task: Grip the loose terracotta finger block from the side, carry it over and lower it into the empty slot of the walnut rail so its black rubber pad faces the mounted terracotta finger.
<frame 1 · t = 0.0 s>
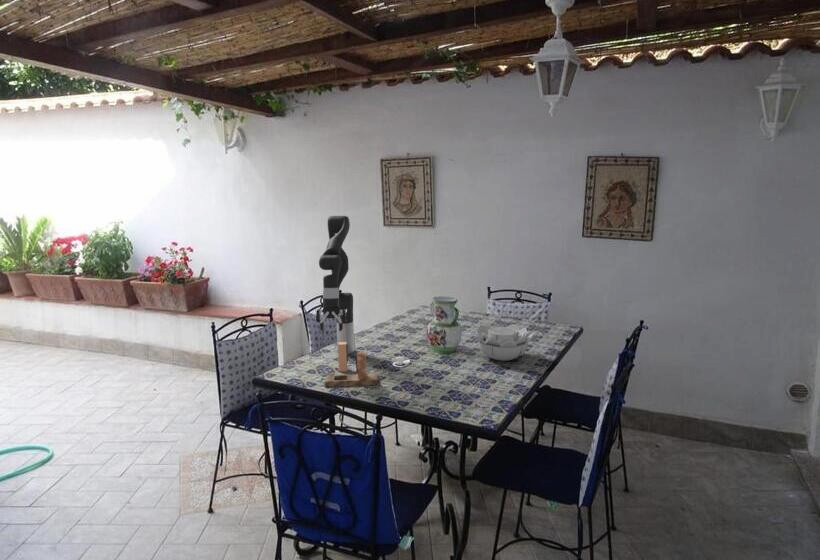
hand: (331, 330, 248), 22 cm above the table, tool pointing down, fingers open, 8 cm apart
loose finger: (343, 370, 259), on the table
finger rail: (351, 382, 243), on the table
teacup and saucer: (404, 366, 265), on the table
decorative bowl: (503, 357, 274), on the table
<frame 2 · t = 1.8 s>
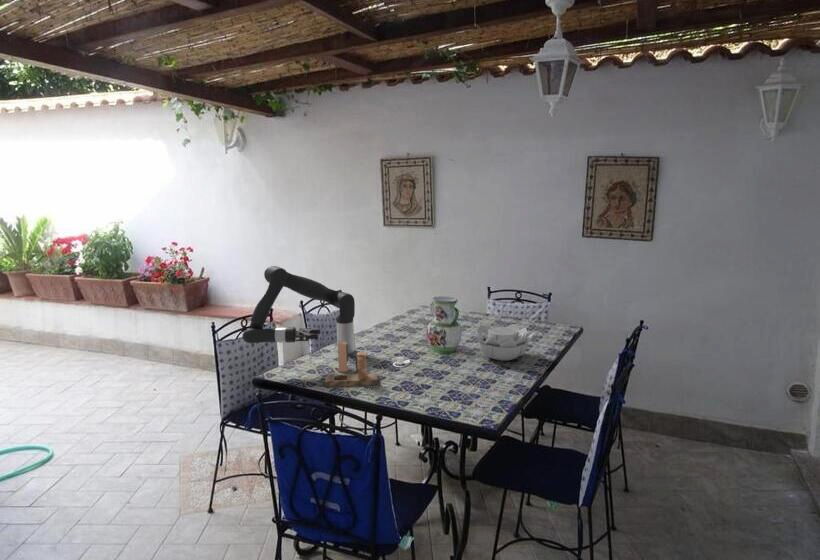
hand: (319, 334, 255), 19 cm above the table, tool horizontal, fingers open, 8 cm apart
nothing on the table moved.
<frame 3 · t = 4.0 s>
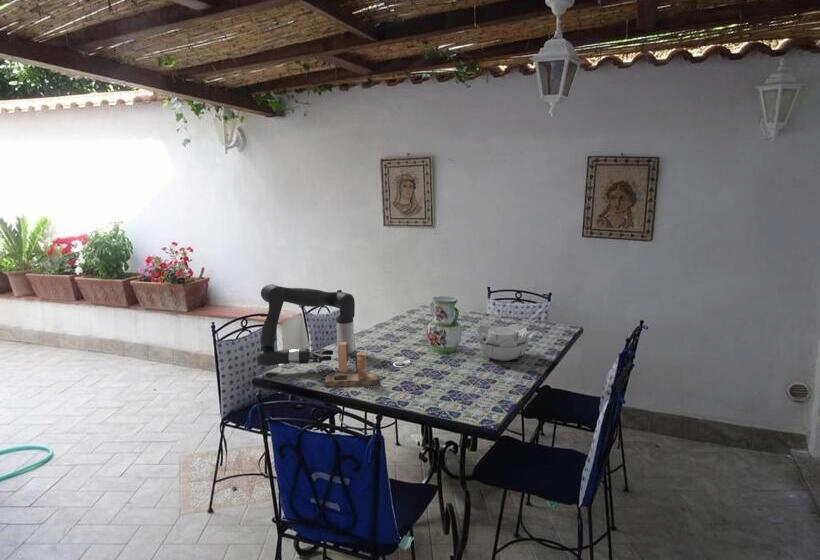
hand: (332, 355, 258), 8 cm above the table, tool horizontal, fingers open, 8 cm apart
nothing on the table moved.
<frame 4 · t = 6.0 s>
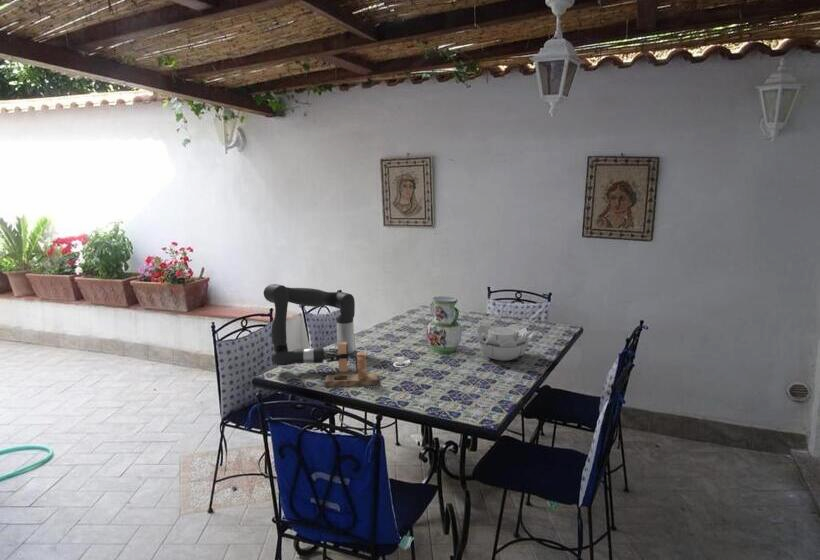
hand: (348, 354, 258), 8 cm above the table, tool horizontal, fingers closed on loose finger, 4 cm apart
loose finger: (343, 370, 259), on the table, touching gripper
everything else where it was.
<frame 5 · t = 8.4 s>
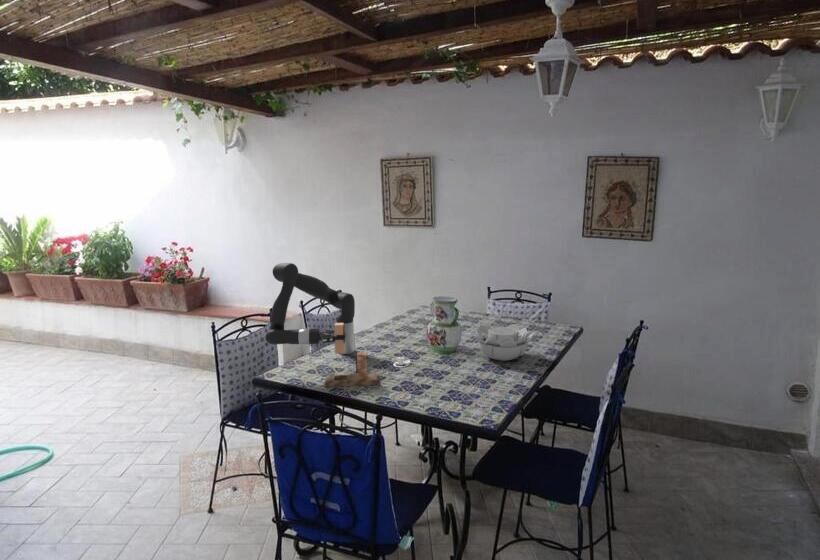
hand: (345, 335, 248), 20 cm above the table, tool horizontal, fingers closed on loose finger, 4 cm apart
loose finger: (339, 352, 249), point 12 cm above the table, touching gripper
everything else where it was.
when the fingers open (9 cm above the table, at t = 11.1 s): loose finger stays where it is, resting in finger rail.
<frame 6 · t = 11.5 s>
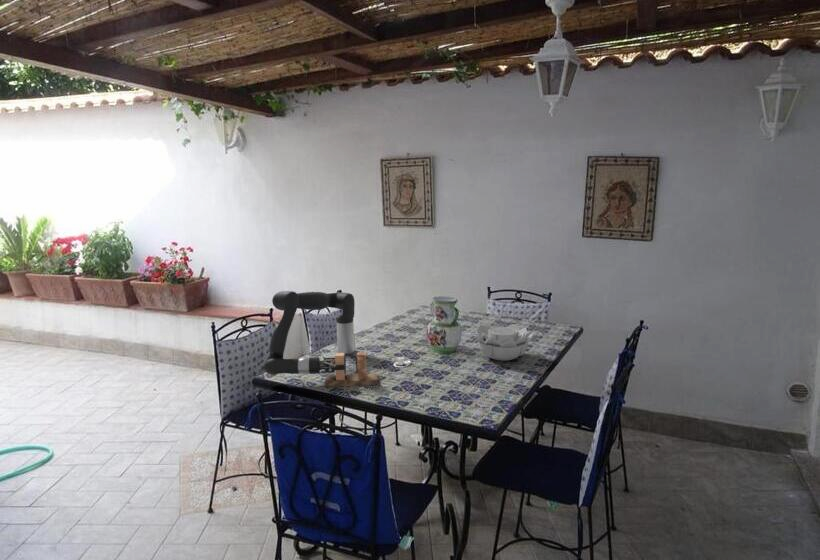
hand: (344, 364, 241), 9 cm above the table, tool horizontal, fingers open, 7 cm apart
loose finger: (340, 383, 243), resting in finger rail
everything else where it was.
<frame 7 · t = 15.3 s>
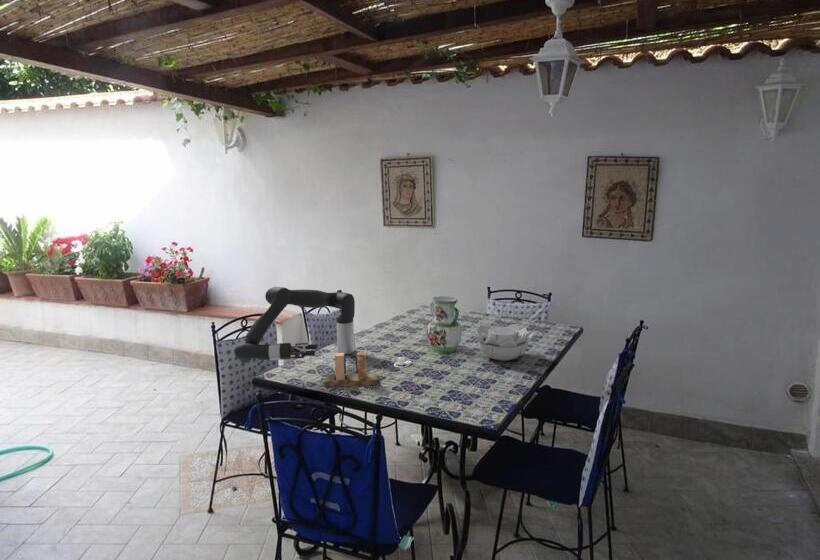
hand: (315, 349, 239), 17 cm above the table, tool horizontal, fingers open, 8 cm apart
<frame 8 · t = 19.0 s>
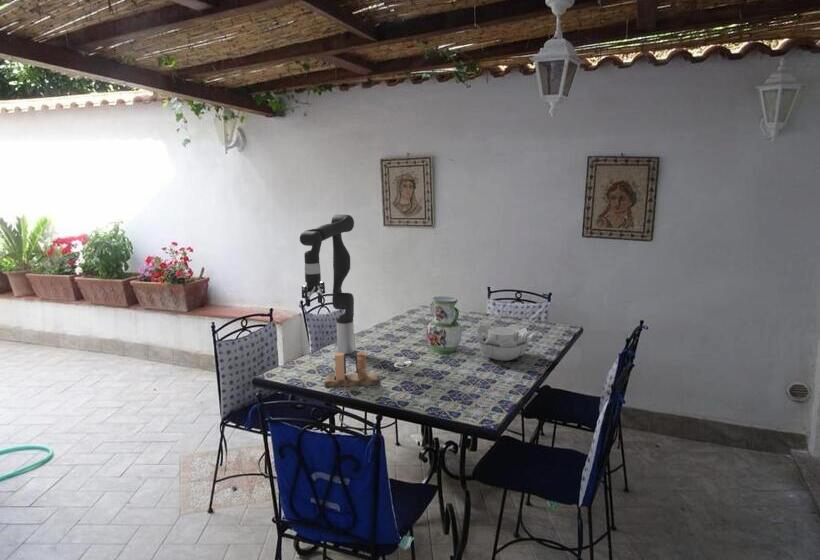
hand: (314, 304, 256), 33 cm above the table, tool pointing down, fingers open, 8 cm apart
at the end: loose finger 0.2 cm from the target spot on the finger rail, point 0.0 cm above the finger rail's base; loose finger tilted 0°; the gripper is holding nothing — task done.
